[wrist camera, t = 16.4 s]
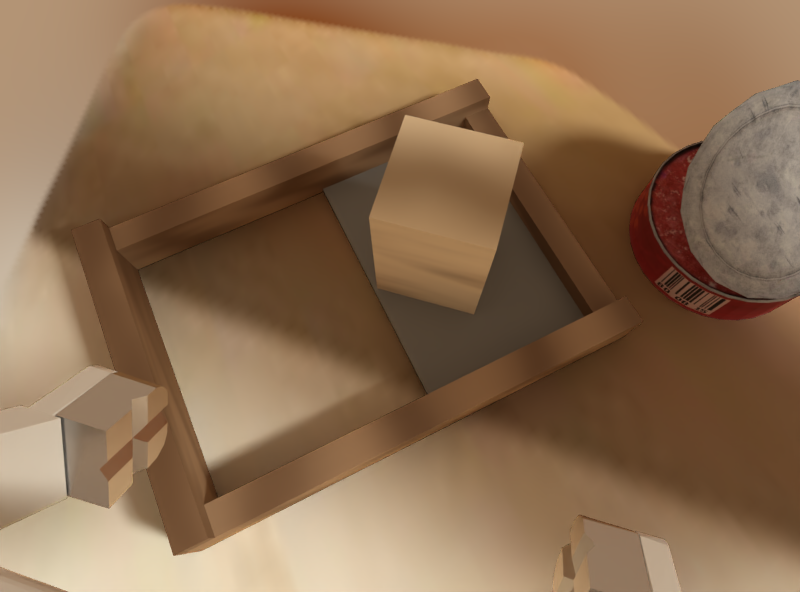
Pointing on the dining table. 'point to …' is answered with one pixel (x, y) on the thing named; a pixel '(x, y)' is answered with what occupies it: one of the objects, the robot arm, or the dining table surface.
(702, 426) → the dining table surface
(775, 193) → the canned food
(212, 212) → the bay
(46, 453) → the robot arm
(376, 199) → the tan wooden block
